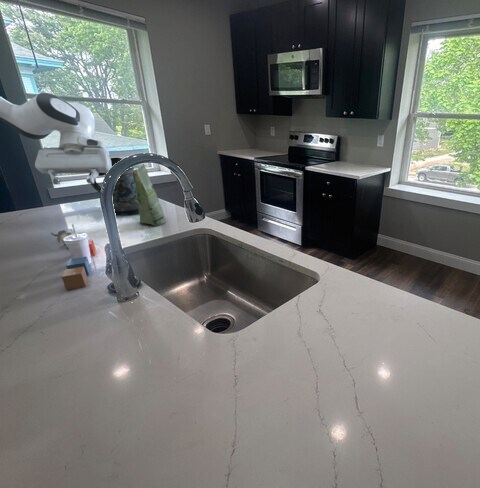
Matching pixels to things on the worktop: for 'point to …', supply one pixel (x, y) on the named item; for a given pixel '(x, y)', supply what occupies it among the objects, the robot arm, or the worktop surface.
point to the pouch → (147, 198)
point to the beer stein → (123, 192)
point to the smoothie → (78, 244)
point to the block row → (78, 270)
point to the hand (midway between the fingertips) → (73, 183)
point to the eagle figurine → (63, 235)
